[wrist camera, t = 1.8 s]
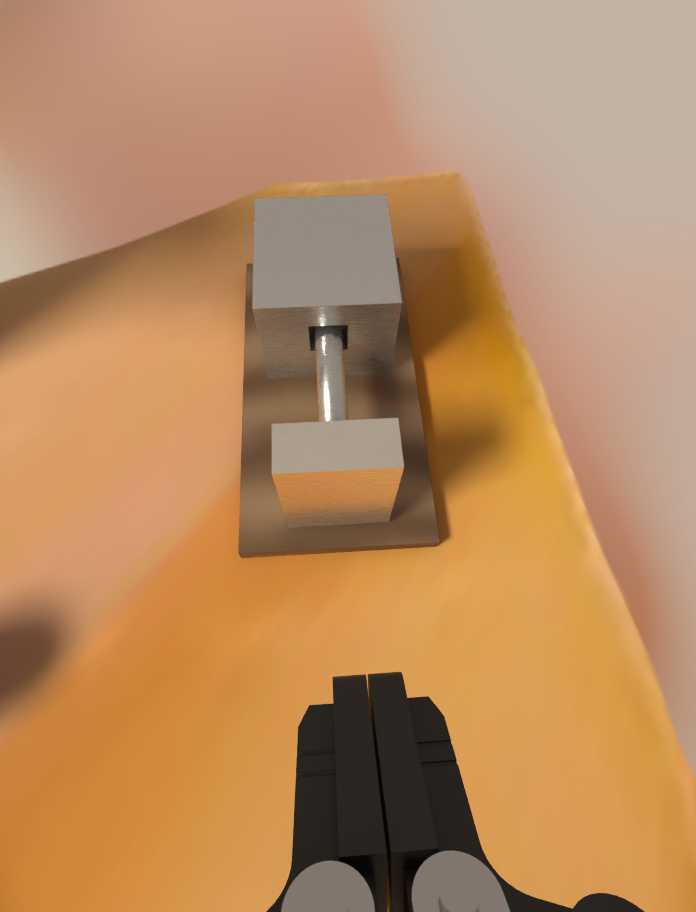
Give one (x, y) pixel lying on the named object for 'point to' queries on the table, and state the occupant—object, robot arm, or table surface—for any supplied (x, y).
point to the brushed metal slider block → (336, 454)
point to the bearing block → (325, 281)
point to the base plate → (299, 403)
